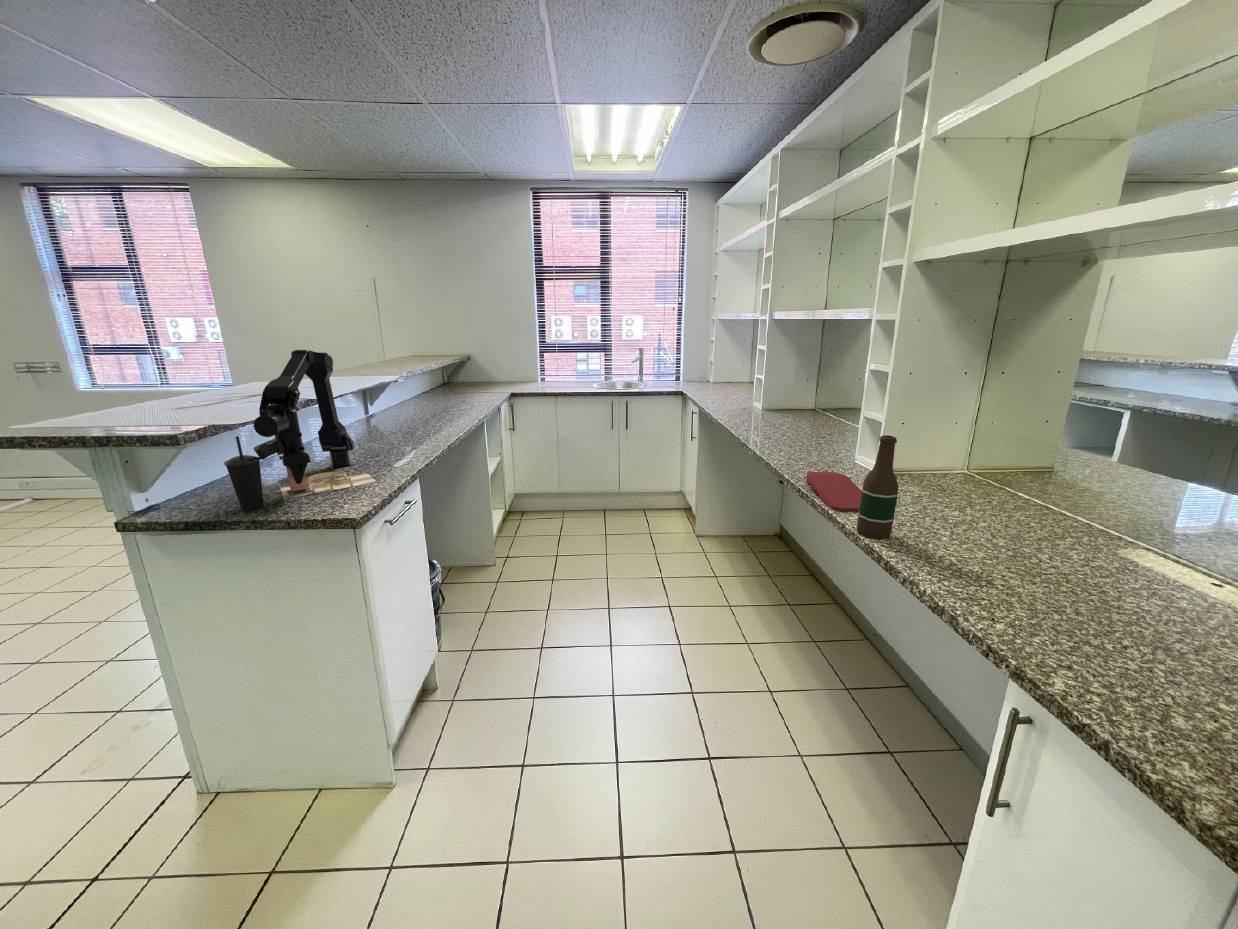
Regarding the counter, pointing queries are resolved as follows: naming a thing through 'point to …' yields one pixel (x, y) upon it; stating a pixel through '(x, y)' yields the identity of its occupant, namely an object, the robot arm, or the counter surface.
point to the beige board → (355, 479)
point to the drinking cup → (246, 480)
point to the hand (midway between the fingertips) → (297, 481)
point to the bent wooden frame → (330, 482)
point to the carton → (835, 490)
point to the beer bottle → (879, 494)
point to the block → (292, 482)
